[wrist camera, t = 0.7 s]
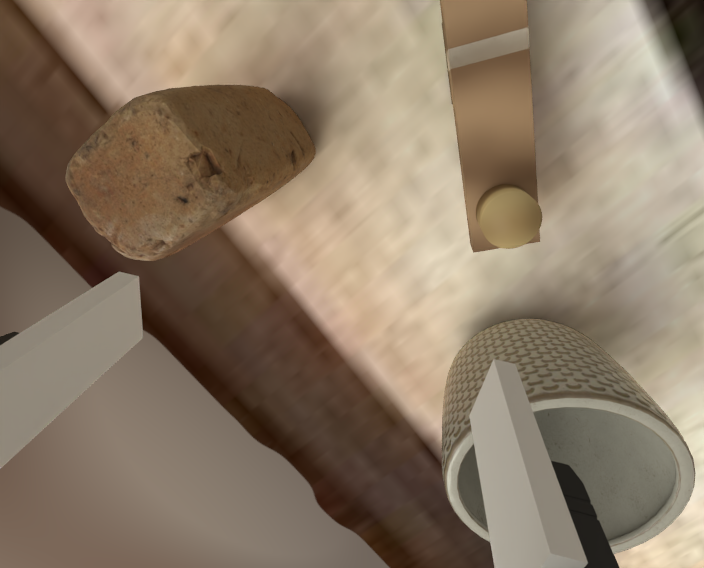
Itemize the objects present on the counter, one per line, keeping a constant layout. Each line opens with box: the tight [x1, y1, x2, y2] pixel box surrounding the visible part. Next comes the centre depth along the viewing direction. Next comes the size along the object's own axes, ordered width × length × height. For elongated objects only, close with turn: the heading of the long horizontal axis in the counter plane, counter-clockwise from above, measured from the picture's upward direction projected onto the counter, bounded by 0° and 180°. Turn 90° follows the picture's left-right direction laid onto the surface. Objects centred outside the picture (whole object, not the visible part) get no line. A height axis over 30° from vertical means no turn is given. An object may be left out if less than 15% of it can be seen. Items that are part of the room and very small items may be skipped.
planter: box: [442, 319, 695, 554], centre depth 37 cm, size 17×17×16 cm
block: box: [66, 85, 315, 261], centre depth 29 cm, size 11×8×20 cm
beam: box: [440, 0, 542, 252], centre depth 28 cm, size 28×5×10 cm, turn 13°
